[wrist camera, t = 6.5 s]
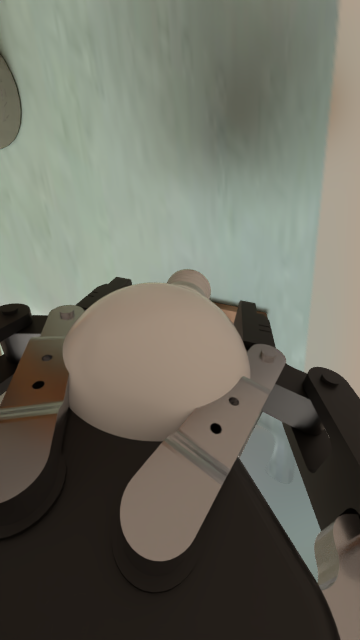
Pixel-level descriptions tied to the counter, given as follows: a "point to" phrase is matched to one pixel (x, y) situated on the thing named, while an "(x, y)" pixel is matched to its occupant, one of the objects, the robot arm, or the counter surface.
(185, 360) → the lightbulb
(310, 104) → the counter surface
